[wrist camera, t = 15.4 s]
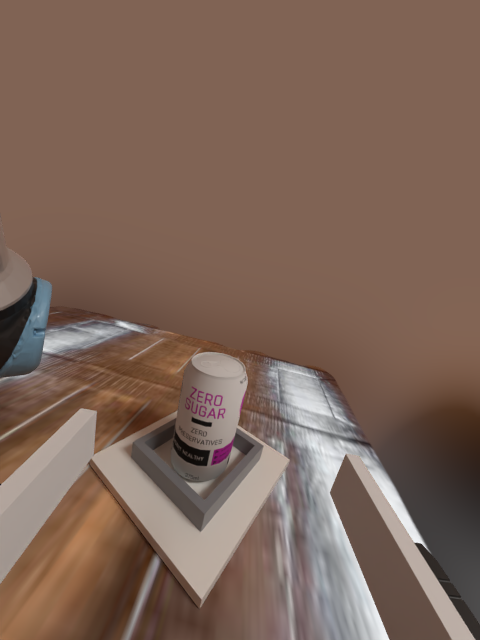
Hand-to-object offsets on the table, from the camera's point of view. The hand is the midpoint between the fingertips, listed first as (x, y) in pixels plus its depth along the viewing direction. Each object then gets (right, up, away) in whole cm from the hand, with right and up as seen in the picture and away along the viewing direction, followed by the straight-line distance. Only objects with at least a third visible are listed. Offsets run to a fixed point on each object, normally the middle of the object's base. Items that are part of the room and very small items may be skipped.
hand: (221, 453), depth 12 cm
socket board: (-5, -14, +21) cm, 26 cm away
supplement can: (-5, -13, +21) cm, 25 cm away
